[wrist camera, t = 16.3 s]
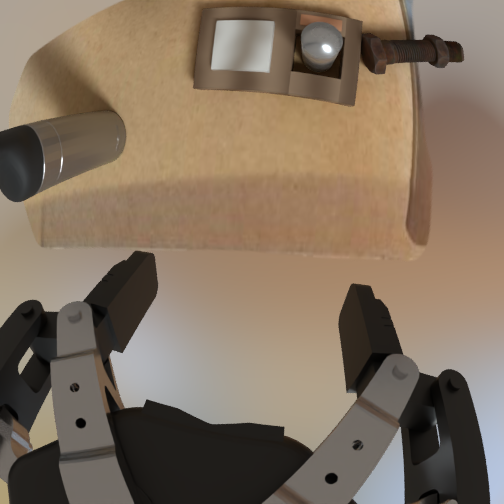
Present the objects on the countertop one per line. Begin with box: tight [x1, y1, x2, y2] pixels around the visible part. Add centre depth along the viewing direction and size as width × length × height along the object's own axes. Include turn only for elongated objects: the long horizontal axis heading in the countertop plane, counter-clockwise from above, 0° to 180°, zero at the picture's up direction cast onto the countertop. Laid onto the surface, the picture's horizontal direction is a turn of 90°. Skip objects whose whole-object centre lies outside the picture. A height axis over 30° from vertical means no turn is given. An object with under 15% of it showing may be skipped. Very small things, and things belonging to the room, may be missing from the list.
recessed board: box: [193, 7, 363, 107], centre depth 27 cm, size 20×12×4 cm, turn 85°
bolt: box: [361, 33, 464, 74], centre depth 23 cm, size 6×5×15 cm
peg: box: [301, 22, 343, 72], centre depth 24 cm, size 4×4×10 cm
